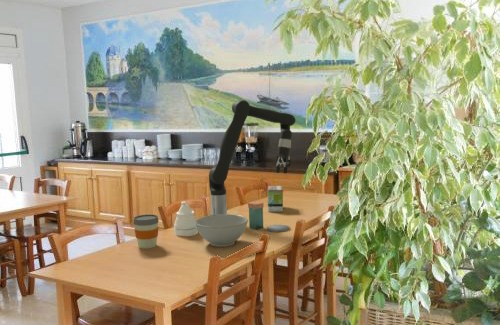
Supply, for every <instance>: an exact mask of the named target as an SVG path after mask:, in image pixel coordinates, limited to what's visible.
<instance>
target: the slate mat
mask: <svg viewBox="0 0 500 325" xmlns="http://www.w3.org/2000/svg"><path fill="white" fill-rule="evenodd" d="M266 230H267V231H268V232H271V233H284V232H288V231H290V230H291V227H290V226H288V225H286V224H272V225H268V226H266Z"/></svg>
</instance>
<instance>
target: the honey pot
mask: <svg viewBox="0 0 500 325" xmlns="http://www.w3.org/2000/svg"><path fill="white" fill-rule="evenodd" d="M180 203H181V205H180V208H179V210H178V211H177V212H175V214H176V218H175V221H174V225H173V229H174V236H177V237H189V236H190V237H191V236H195V235H196V234H198V233H199V232H198V230H197V227H196V224H195V221H196V220H197V219H196V216H195V215H194V214H195V211H194V210H192V208H191V207H190V206H189V204H187V202H186V201H180Z"/></svg>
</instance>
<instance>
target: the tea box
mask: <svg viewBox="0 0 500 325" xmlns="http://www.w3.org/2000/svg"><path fill="white" fill-rule="evenodd" d="M267 210H268V212H270V213H273V212H276V213H278V212H280V213H281V212H283V211H284V190H283V186H282V185H268V186H267Z"/></svg>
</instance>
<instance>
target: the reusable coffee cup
mask: <svg viewBox="0 0 500 325" xmlns="http://www.w3.org/2000/svg"><path fill="white" fill-rule="evenodd" d="M133 225H134V233H135V234H134V235H135V238H136V241H137V246H138V248H139V249H151V248H155V247H156V246H157V240H158V236H159V216H158V215H156V214H141V215H136V216H134V217H133Z"/></svg>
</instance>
